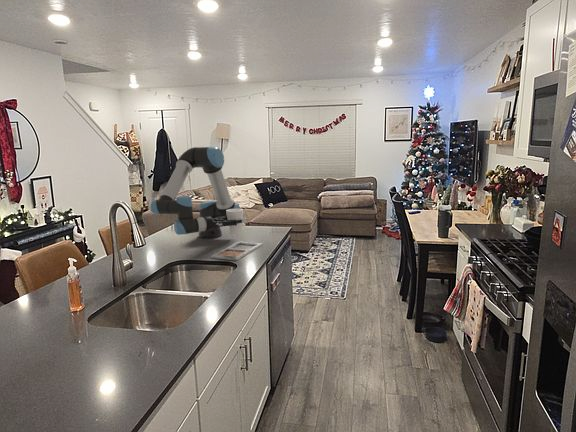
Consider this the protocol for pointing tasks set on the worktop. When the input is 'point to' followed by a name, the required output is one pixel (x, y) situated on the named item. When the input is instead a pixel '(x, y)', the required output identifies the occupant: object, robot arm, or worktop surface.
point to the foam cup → (233, 215)
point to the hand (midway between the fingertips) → (242, 218)
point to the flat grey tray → (235, 251)
